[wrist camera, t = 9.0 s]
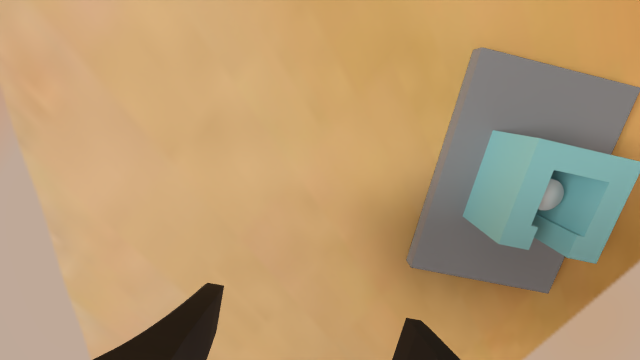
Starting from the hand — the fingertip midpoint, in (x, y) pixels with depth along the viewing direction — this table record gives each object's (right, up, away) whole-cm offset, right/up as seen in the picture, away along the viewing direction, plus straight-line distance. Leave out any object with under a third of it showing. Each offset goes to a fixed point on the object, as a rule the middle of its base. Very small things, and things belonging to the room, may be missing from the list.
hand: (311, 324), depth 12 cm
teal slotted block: (+13, +5, +8) cm, 16 cm away
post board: (+13, +6, +9) cm, 16 cm away
